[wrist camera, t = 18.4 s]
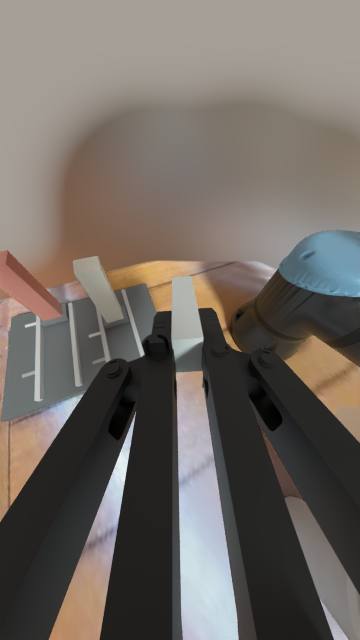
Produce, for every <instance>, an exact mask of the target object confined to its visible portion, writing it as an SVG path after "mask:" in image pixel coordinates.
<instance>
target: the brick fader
mask: <svg viewBox="0 0 360 640" xmlns="http://www.w3.org/2000/svg"><path fill="white" fill-rule="evenodd" d="M0 289H2V290H3V291H4V292H6V293H7V294H8V295H10V296H11V297H12V298H14V299H15V300H16V301H18V302H19V303H20V304H22V305H23V306H24V307H26V308H27V309H29V310H30V311H31V312H33V313H34V314H35V315H37V316H38V317H39V318H40V324H41V325H42V326H43V327H45V326H48V325H52V324H56V323H59V322H63V321H67V320H69V310H68V305H67V304H66V303H61V304H60V303H59V302H58V301H57V300H56V299H55V298H54V297H53V296H52V295H51V294H50V293H49V292H48V291H47V290H46V289H45V288H44V287H43V286H42V285H41V284H40V283H39V282H38V281H37V280H36V279H35V278H34V277H33V276H32V275H31V274H30V273H29V272H28V271H27V270H26V269H25V268H24V267H23V266H22V265H21V264H20V263H19V262H18V261H17V260H16V259H15V258H14V257H13V256H12V255H11V254H10V252H9V251H2V252H0Z"/></svg>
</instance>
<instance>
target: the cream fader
mask: <svg viewBox="0 0 360 640" xmlns="http://www.w3.org/2000/svg"><path fill="white" fill-rule="evenodd" d="M73 268H74V275H75V276H76V278H77V279H78V281H79V282H80V284H81V285H82V287H83V288H84V290H85V291H86V293H87V294H88V295H89V297H90V298H91V300H92V301H93V303H94V304H95V306H96V307H97V309H98V310H99V312H100V313H101V315H102V318H103V323H104V327H105V328H106V329H108V328H111V327H115V326H118V325H121V324H125V323H128V322H129V319H128V316H127V312H126V309H125V306H124V305H123V306H120V304H119V302H118V300H117V297H116V295H115V293H114V291H113V288H112V286H111V284H110V282H109V280H108V277H107V275H106V273H105V271H104V269H103V266H102V264H101V262H100V260H99V258H98V256H93V257H88V258H83V259H78V260H73Z"/></svg>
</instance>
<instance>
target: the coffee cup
mask: <svg viewBox="0 0 360 640" xmlns="http://www.w3.org/2000/svg"><path fill="white" fill-rule="evenodd" d="M284 499H285V502H286V505H287V507H288V510H289V513H290V516H291V519H292V522H293V525H294V527H295V530H296V533H297V536H298V539H299V542H300V545H301V547H302V550H303V553H304V556H305V559H306V562H307V565H308V567H309V570H310V573H311V576H312V579H313V582H314V585H315V587H316V590H317V593H318V596H319V598H320V600H321V601H322V602H323V604H324V605H325V607H326V608H327V609H328V611H329V612H330V614H331V615H332V616H333V618H334V619H335V621H336V622H337V624H338V625H339V626H340V628H341V629H342V631H343V632H344V634H345V635H346V636H347V638H348V639H349V640H360V595H359V593H358V592H357V590H356V588H355V586H354V585H353V583H352V581H351V580H350V578H349V576H348V574H347V573H346V571H345V569H344V568H343V566H342V564H341V562H340V561H339V559H338V557H337V556H336V554H335V552H334V550H333V549H332V547H331V545H330V543H329V542H328V540H327V538H326V537H325V535H324V533H323V531H322V530H321V528H320V526H319V525H318V523H317V521H316V519H315V518H314V516H313V514H312V513H311V511H310V509H309V507H308V506H307V504H306V502H305V501H303V500H301V499H299V498H297V497H293V496H289V497H286V498H284Z"/></svg>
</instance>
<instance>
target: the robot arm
mask: <svg viewBox="0 0 360 640" xmlns="http://www.w3.org/2000/svg"><path fill="white" fill-rule="evenodd" d="M152 328H153V329H152V334H150V335H148V336H147V337H146V338H145V339H144V340H143V342H142V347H143V350H144V353H145V355H143V356H142V357H140V358H138V359H135V360H132V361H129V362H127V361H126V360H124V359H122V358H116V359H113V360H110V361H108V362H107V363H105V364H104V365H103V367H102V368H101V369H100V371H99V372H98V374H97V375H96V377H95V378H94V380H93V381H92V383H91V384H90V386H89V387H88V389H87V390H86V392H85V394H84V395H83V397H82V398H81V400H80V401H79V403H78V404H77V406H76V407H75V409H74V410H73V412H72V413H71V415H70V416H69V418H68V420H67V421H66V423H65V424H64V426H63V427H62V429H61V430H60V432H59V433H58V435H57V436H56V438H55V439H54V441H53V442H52V444H51V446H50V447H49V449H48V450H47V452H46V453H45V455H44V456H43V458H42V459H41V461H40V462H39V464H38V465H37V467H36V468H35V470H34V471H33V473H32V475H31V476H30V478H29V479H28V481H27V482H26V484H25V485H24V487H23V488H22V490H21V491H20V493H19V494H18V496H17V497H16V499H15V501H14V502H13V504H12V505H11V507H10V508H9V510H8V511H7V513H6V514H5V516H4V517H3V519H2V520H1V522H0V640H48V639H49V637H50V634H51V632H52V629H53V626H54V624H55V621H56V619H57V616H58V613H59V611H60V608H61V605H62V603H63V600H64V598H65V595H66V592H67V590H68V587H69V585H70V582H71V579H72V577H73V574H74V572H75V569H76V566H77V564H78V561H79V558H80V556H81V553H82V551H83V548H84V545H85V543H86V540H87V538H88V535H89V532H90V530H91V527H92V525H93V522H94V519H95V517H96V514H97V512H98V509H99V506H100V504H101V501H102V498H103V496H104V493H105V491H106V488H107V485H108V483H109V480H110V478H111V475H112V472H113V470H114V467H115V465H116V462H117V459H118V457H119V454H120V452H121V449H122V446H123V444H124V441H125V438H126V436H127V433H128V431H129V428H130V425H131V423H132V420H133V418H134V415H135V412H136V416H135V422H134V428H133V435H132V441H131V447H130V453H129V460H128V466H127V472H126V479H125V485H124V491H123V497H122V504H121V510H120V516H119V522H118V529H117V535H116V541H115V547H114V554H113V560H112V566H111V572H110V579H109V585H108V591H107V597H106V604H105V610H104V616H103V622H102V629H101V635H100V640H183V637H182V623H181V586H180V534H179V482H178V430H177V382H176V372H191V371H203V387H204V391H205V398H206V405H207V412H208V419H209V426H210V432H211V439H212V446H213V453H214V460H215V466H216V473H217V480H218V487H219V494H220V501H221V507H222V514H223V521H224V528H225V535H226V541H227V548H228V555H229V562H230V569H231V576H232V582H233V589H234V596H235V603H236V610H237V619H238V635H239V640H334V639H333V636H332V633H331V630H330V627H329V625H328V622H327V619H326V616H325V613H324V610H323V607H322V605H321V602H320V599H319V596H318V593H317V590H316V587H315V585H314V582H313V579H312V576H311V573H310V570H309V567H308V565H307V562H306V559H305V556H304V553H303V550H302V547H301V545H300V542H299V539H298V536H297V533H296V530H295V527H294V525H293V522H292V519H291V516H290V513H289V510H288V507H287V505H286V502H285V499H284V496H283V493H282V490H281V487H280V485H279V482H278V479H277V476H276V473H275V470H274V467H273V465H272V462H271V459H270V456H269V453H268V450H267V447H266V445H265V442H264V439H263V436H262V433H261V430H260V427H259V425H258V422H257V420H258V421H259V423H260V425H261V427H262V428H263V430H264V432H265V433H266V435H267V437H268V439H269V440H270V442H271V444H272V445H273V447H274V449H275V451H276V452H277V454H278V456H279V457H280V459H281V461H282V463H283V464H284V466H285V468H286V470H287V471H288V473H289V475H290V476H291V478H292V480H293V482H294V483H295V485H296V487H297V488H298V490H299V492H300V494H301V495H302V497H303V499H304V500H305V502H306V504H307V506H308V507H309V509H310V511H311V513H312V514H313V516H314V518H315V519H316V521H317V523H318V525H319V526H320V528H321V530H322V531H323V533H324V535H325V537H326V538H327V540H328V542H329V543H330V545H331V547H332V549H333V550H334V552H335V554H336V556H337V557H338V559H339V561H340V562H341V564H342V566H343V568H344V569H345V571H346V573H347V574H348V576H349V578H350V580H351V581H352V583H353V585H354V586H355V588H356V590H357V592H358V593H359V595H360V443H359V442H358V441H357V440H356V439H355V437H354V436H353V435H352V434H351V433H350V432H349V431H348V430H347V429H346V428H345V427H344V426H343V425H342V424H341V422H340V421H339V420H338V419H337V418H336V417H335V416H334V415H333V414H332V413H331V412H330V410H329V409H328V408H327V407H326V406H325V405H324V404H323V403H322V402H321V401H320V400H319V399H318V398H317V396H316V395H315V394H314V393H313V392H312V391H311V390H310V389H309V388H308V387H307V386H306V385H305V384H304V382H303V381H302V380H301V379H300V378H299V377H298V376H297V375H296V374H295V373H294V372H293V371H292V369H291V368H290V367H289V366H288V365H287V364H286V363H285V362H284V360H286V359H289V358H290V357H292V356H293V355H294V354H295V353H296V352H297V351H298V349H299V348H300V346H301V345H302V343H303V342H304V340H305V339H306V338H308V337H309V336H311V335H314V336H316V337H317V338H318V339H320V340H321V341H323V342H324V343H326V344H327V345H329V346H330V347H332V348H333V349H335V350H336V351H337V352H339V353H340V354H342V355H343V356H345V357H346V358H347V359H349V360H350V361H352V362H353V363H354V364H356V365H357V366H359V367H360V232H353V231H343V230H335V231H323V232H318V233H315V234H312V235H310V236H308V237H306V238H305V239H303V240H302V241H301V242H299V243H298V244H297V246H296V247H295V248H294V249H293V250H292V252H291V253H290V254H289V255H288V256H287V257H286V258H284V259H283V261H282V262H281V263H280V265H279V269H278V270H277V271H276V272H275V274H274V275H273V276H272V278H271V279H270V280H269V282H268V283H267V284H266V285H265V287H264V288H263V289H262V291H261V292H260V293H259V295H258V296H257V297H256V298H255V299H253V300H251V301H249V302H248V303H246V304H244V305H243V306H241V307H240V308H239V309H238V310H237V311H236V313H235V314H234V316H233V318H232V320H231V327H230V328H231V334H232V337H233V339H234V341H235V343H236V345H237V346H238V347H239V348H240V350H241V351H242V352H239V351H236V350H234V349H232V348H231V347H230V345H228V344H227V343H226V341H225V338H224V335H223V332H222V329H221V326H220V323H219V320H218V317H217V314H216V312H215V311H214V310H213V309H212V308H200V309H198V307H197V302H196V297H195V291H194V286H193V281H192V276H185V277H172V311H162V312H157V314H156V315H155V316H154V320H153V327H152ZM256 418H257V419H256Z"/></svg>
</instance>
